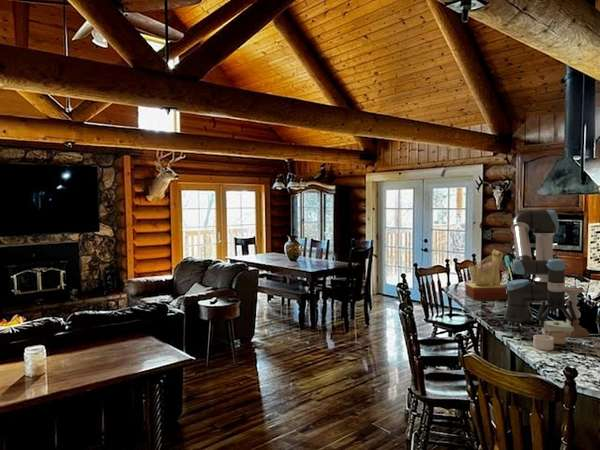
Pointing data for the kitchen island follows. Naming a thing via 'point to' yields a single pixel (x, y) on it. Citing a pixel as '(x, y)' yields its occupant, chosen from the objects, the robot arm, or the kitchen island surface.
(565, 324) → the lid
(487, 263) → the decorative skull
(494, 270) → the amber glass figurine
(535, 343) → the bowl
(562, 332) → the block
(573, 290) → the candle holder
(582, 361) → the kitchen island surface
